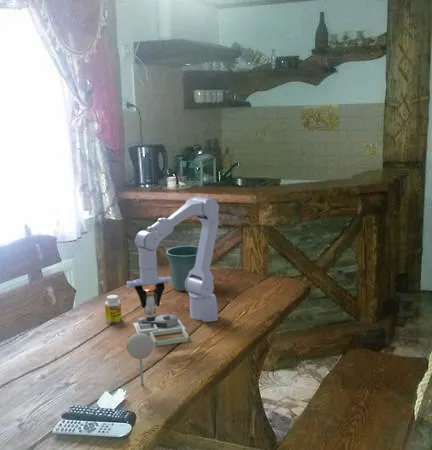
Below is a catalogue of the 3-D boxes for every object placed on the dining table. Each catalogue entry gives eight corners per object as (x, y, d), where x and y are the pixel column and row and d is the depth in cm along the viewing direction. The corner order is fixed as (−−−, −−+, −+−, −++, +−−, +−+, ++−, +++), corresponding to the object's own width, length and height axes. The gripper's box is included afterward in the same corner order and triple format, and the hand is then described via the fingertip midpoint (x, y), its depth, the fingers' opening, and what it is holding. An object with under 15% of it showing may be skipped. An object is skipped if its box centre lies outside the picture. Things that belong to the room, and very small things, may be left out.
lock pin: (155, 310, 205) (155, 287, 204) (158, 314, 201) (157, 291, 199) (141, 311, 204) (141, 288, 202) (144, 315, 200) (144, 292, 198)
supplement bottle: (110, 327, 212) (108, 300, 210) (103, 323, 216) (101, 296, 214) (124, 324, 215) (122, 296, 213) (118, 319, 219) (116, 292, 217)
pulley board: (177, 320, 217) (177, 309, 216) (185, 332, 206) (185, 321, 205) (133, 326, 212) (132, 315, 212) (139, 338, 201) (138, 327, 200)
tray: (182, 334, 204) (182, 327, 204) (189, 344, 195) (189, 337, 195) (150, 338, 201) (149, 331, 200) (155, 349, 192) (155, 342, 192)
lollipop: (130, 379, 172) (126, 329, 169) (155, 377, 173) (152, 328, 170) (128, 391, 165) (125, 339, 162) (154, 389, 166) (152, 337, 163)
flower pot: (206, 293, 246) (205, 255, 243) (166, 294, 247) (164, 256, 243) (207, 281, 262) (206, 245, 259) (169, 282, 263) (168, 246, 259)
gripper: (167, 261, 205) (169, 299, 208) (124, 266, 201) (127, 305, 204) (171, 266, 198) (173, 306, 201) (127, 271, 194) (130, 311, 197)
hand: (150, 306), depth 202 cm, fingers closed on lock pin, 4 cm apart
